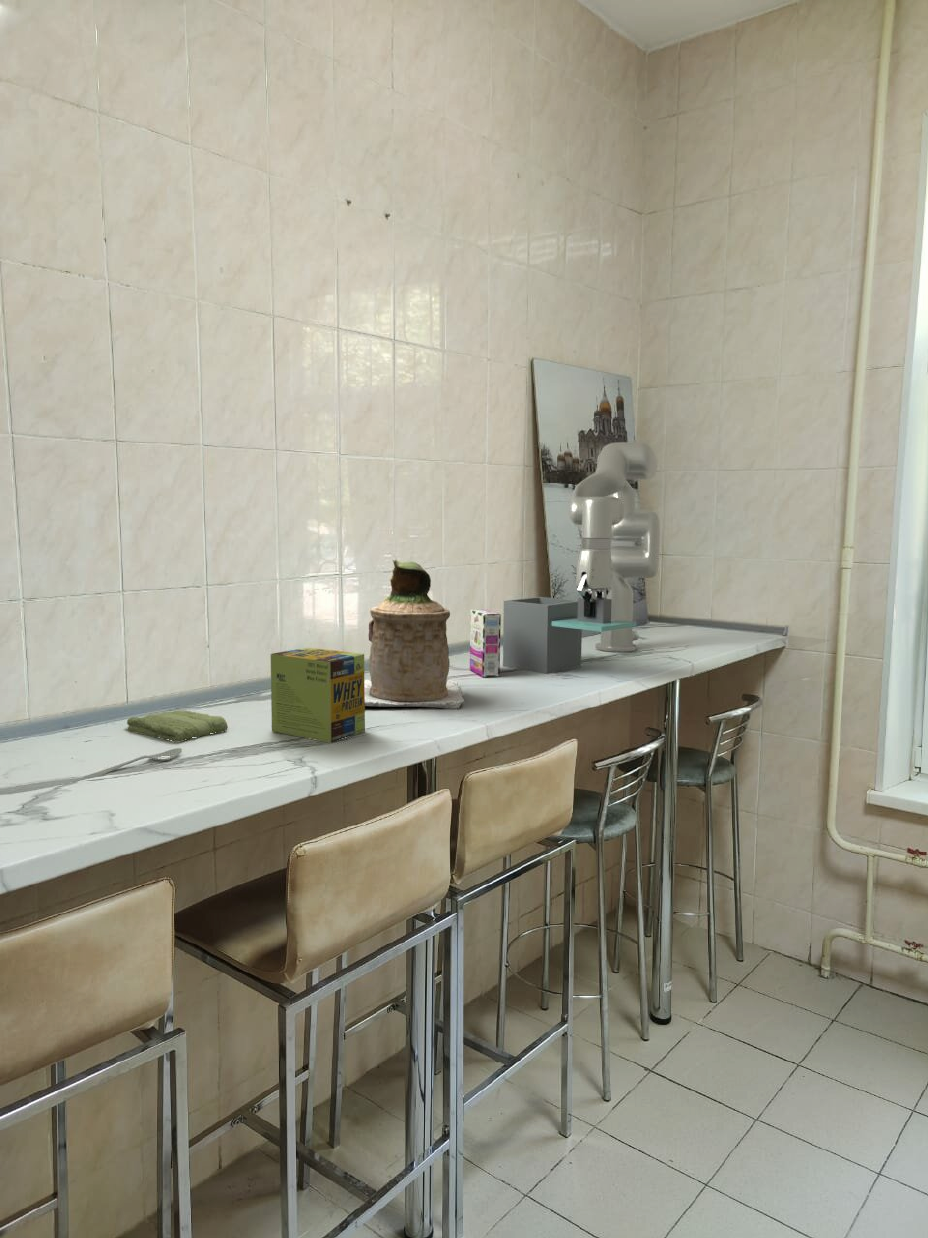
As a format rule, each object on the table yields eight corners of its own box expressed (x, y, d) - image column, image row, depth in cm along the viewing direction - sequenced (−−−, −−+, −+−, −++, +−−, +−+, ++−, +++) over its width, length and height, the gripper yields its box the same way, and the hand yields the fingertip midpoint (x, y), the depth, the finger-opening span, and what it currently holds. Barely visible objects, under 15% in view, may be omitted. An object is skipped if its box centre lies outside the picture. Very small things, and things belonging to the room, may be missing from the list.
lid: (587, 621, 242) (587, 594, 241) (636, 626, 231) (637, 598, 230) (551, 625, 231) (552, 598, 230) (601, 631, 220) (602, 602, 219)
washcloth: (179, 719, 185) (178, 703, 185) (232, 732, 174) (232, 716, 174) (121, 731, 175) (120, 715, 174) (174, 746, 164) (173, 729, 164)
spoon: (188, 758, 156) (187, 749, 156) (73, 787, 141) (73, 776, 140) (174, 754, 159) (174, 745, 159) (60, 781, 143) (60, 771, 143)
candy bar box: (501, 677, 229) (501, 613, 227) (482, 678, 228) (483, 614, 225) (486, 669, 240) (487, 608, 237) (468, 670, 238) (469, 609, 236)
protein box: (331, 743, 165) (330, 661, 163) (270, 732, 173) (268, 653, 171) (366, 731, 174) (366, 653, 172) (307, 721, 182) (305, 646, 180)
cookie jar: (465, 709, 193) (466, 562, 189) (351, 710, 192) (350, 562, 187) (458, 686, 218) (459, 555, 213) (357, 687, 216) (356, 555, 212)
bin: (537, 659, 255) (538, 596, 253) (580, 666, 245) (582, 601, 242) (502, 666, 244) (503, 600, 242) (546, 673, 234) (547, 605, 232)
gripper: (602, 544, 237) (600, 613, 239) (564, 545, 225) (563, 617, 227) (626, 545, 232) (624, 615, 234) (589, 546, 220) (587, 620, 222)
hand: (594, 615), depth 231 cm, fingers closed on lid, 3 cm apart
